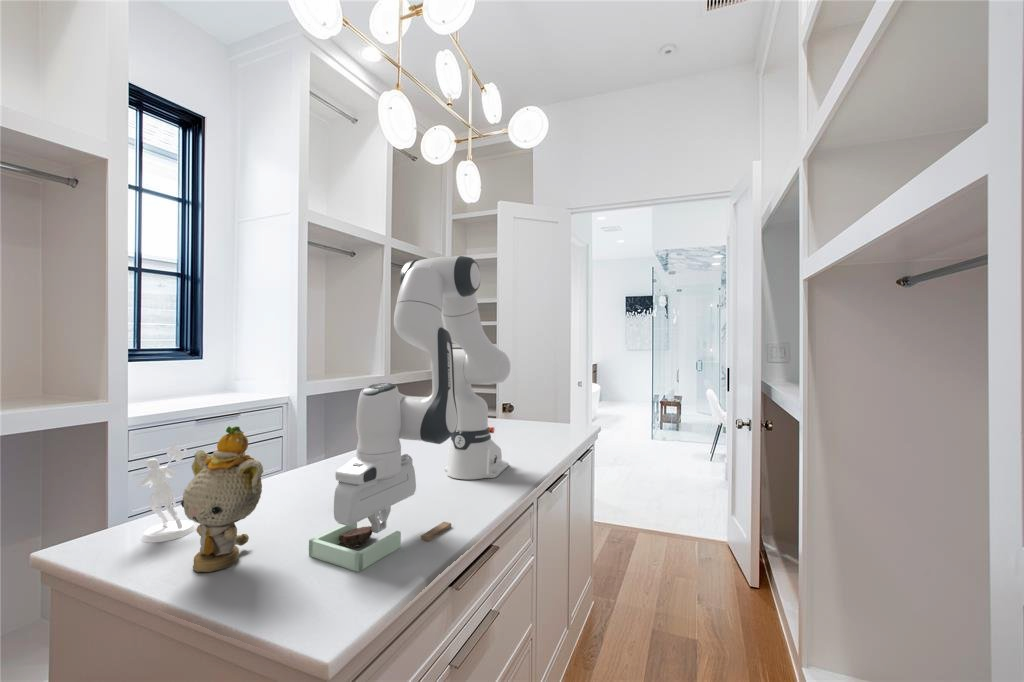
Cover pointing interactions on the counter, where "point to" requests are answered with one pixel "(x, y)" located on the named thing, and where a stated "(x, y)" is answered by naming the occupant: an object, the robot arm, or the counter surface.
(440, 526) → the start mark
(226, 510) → the figurine
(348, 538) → the stone
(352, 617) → the counter surface
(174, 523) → the figurine
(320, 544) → the green u-shaped bracket
